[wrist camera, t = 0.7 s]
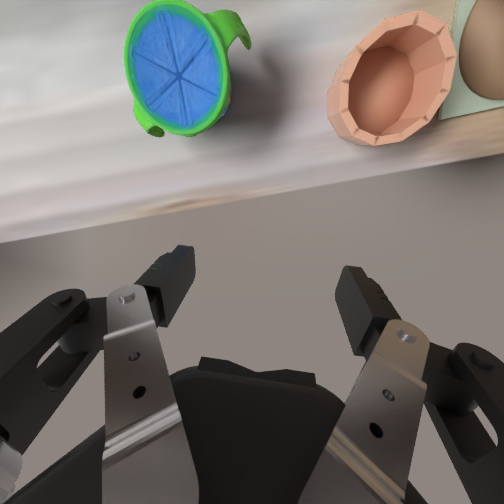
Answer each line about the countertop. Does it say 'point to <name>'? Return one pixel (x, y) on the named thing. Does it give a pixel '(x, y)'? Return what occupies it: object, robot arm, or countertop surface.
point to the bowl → (392, 80)
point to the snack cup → (180, 66)
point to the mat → (460, 95)
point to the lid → (484, 50)
